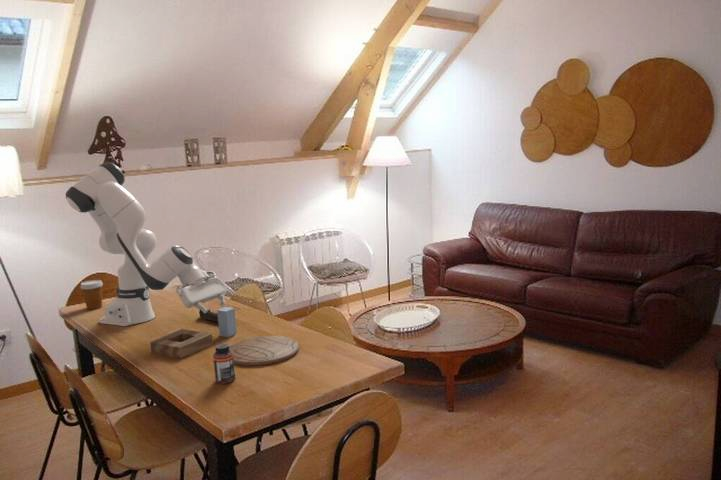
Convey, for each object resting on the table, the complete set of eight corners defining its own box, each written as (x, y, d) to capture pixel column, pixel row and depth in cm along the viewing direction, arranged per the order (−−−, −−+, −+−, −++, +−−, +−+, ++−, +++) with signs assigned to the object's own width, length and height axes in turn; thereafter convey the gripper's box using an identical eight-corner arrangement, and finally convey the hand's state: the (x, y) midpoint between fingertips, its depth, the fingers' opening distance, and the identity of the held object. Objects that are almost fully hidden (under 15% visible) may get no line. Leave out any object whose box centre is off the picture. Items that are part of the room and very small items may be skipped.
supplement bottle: (217, 377, 184) (213, 342, 182) (236, 375, 185) (233, 341, 183) (214, 385, 178) (210, 349, 176) (234, 383, 179) (230, 348, 177)
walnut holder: (151, 352, 209) (150, 341, 208) (183, 339, 222) (182, 328, 221) (181, 358, 202) (180, 347, 201) (212, 344, 214) (211, 333, 214)
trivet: (262, 336, 221) (262, 331, 221) (313, 347, 207) (313, 342, 206) (210, 358, 201) (209, 353, 201) (263, 373, 187) (262, 367, 187)
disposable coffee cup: (100, 310, 266) (96, 284, 264) (79, 311, 266) (75, 285, 264) (109, 304, 276) (106, 279, 273) (89, 305, 276) (85, 280, 274)
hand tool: (232, 324, 237) (231, 313, 237) (224, 326, 234) (223, 315, 234) (205, 316, 250) (204, 305, 249) (197, 318, 247) (196, 308, 246)
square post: (219, 335, 224) (217, 310, 222) (227, 331, 227) (225, 306, 226) (228, 337, 221) (226, 311, 220) (236, 333, 225) (234, 308, 223)
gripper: (177, 282, 217) (199, 311, 214) (217, 270, 234) (238, 296, 231) (170, 293, 220) (191, 321, 217) (210, 280, 237) (230, 306, 234)
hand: (215, 308), depth 224 cm, fingers open, 8 cm apart
